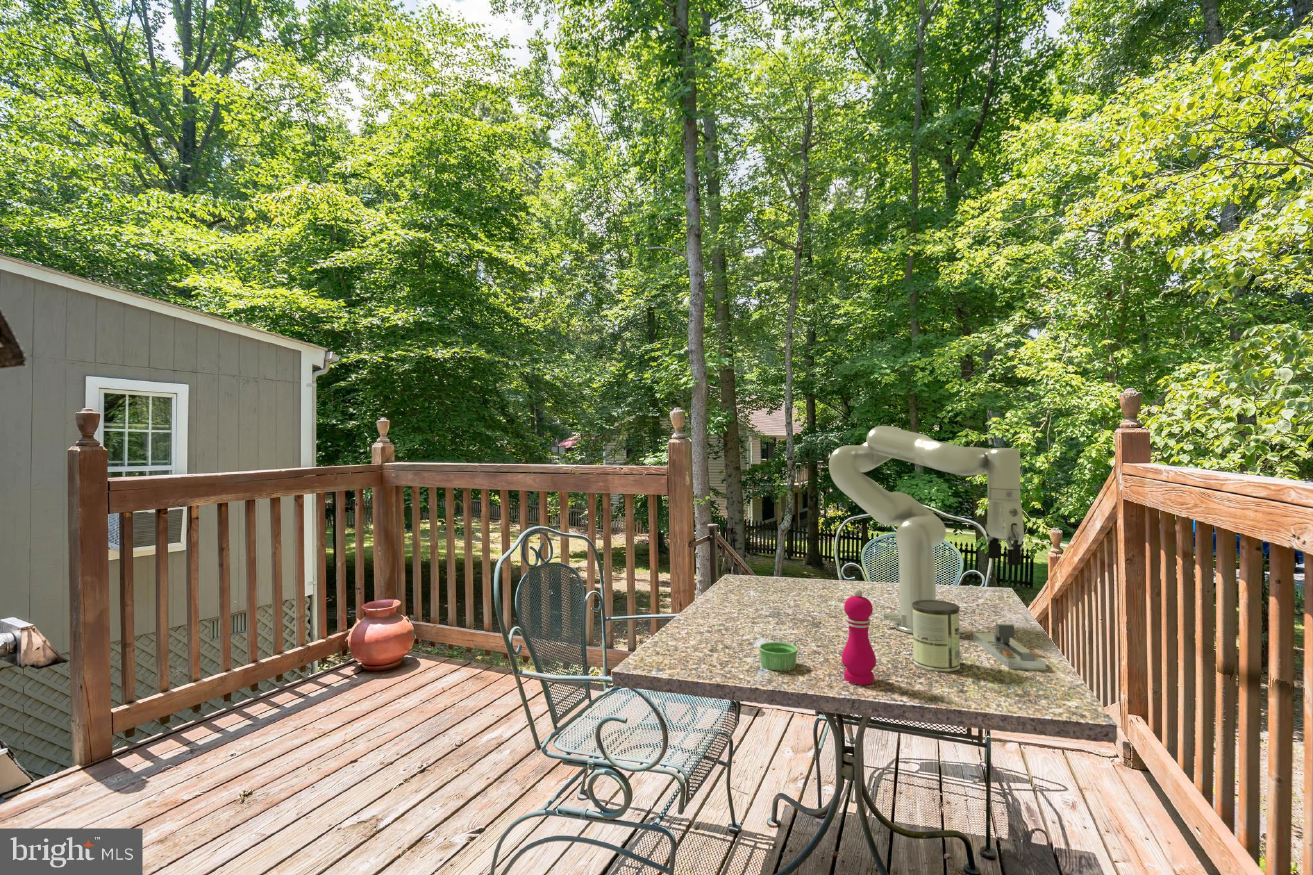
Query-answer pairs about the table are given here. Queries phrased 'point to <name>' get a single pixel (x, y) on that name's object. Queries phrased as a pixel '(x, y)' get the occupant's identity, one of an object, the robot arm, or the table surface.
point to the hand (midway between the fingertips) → (1003, 561)
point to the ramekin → (778, 655)
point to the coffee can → (936, 635)
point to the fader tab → (1005, 632)
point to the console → (1009, 652)
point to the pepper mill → (858, 641)
